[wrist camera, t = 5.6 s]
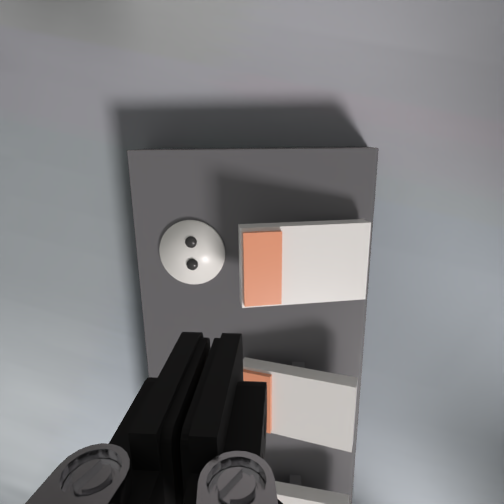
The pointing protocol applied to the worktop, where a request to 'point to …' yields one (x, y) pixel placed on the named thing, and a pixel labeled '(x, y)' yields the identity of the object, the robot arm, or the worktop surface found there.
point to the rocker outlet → (303, 262)
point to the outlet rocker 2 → (308, 495)
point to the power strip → (227, 268)
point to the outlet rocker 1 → (307, 402)
